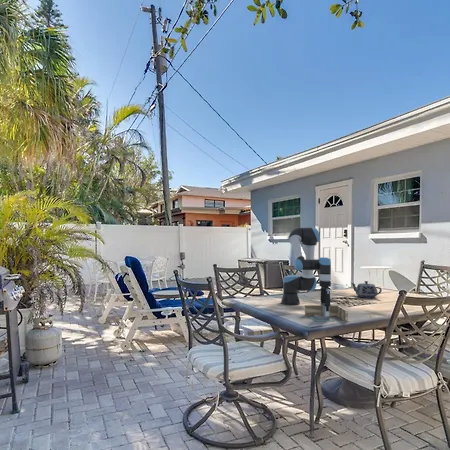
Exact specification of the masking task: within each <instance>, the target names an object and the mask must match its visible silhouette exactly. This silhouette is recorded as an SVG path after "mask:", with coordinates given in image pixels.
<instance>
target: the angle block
mask: <svg viewBox="0 0 450 450" xmlns="http://www.w3.org/2000/svg"><path fill="white" fill-rule="evenodd" d="M320 305H321V315H314V316H313V317H314V319H316V320H330V318H331V317H330V316H325V306H324V305H325V303H321V302H320Z"/></svg>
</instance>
